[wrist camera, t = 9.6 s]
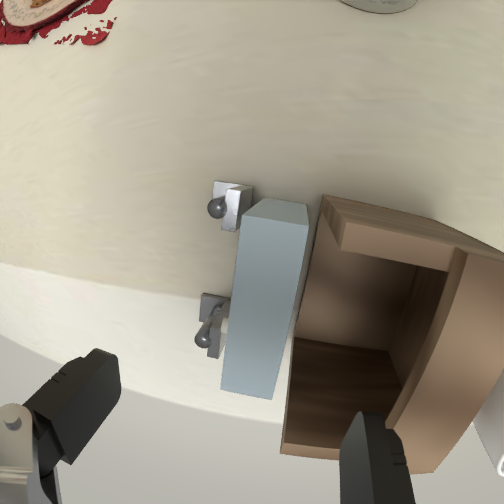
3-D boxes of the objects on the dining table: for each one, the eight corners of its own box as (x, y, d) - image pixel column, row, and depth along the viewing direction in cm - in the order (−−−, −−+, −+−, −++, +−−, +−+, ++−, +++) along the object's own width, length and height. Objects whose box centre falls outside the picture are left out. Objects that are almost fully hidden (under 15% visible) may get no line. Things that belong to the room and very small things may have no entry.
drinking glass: (436, 367, 24) (495, 491, 9) (415, 312, 23) (495, 445, 9) (493, 330, 22) (577, 430, 8) (479, 272, 21) (592, 364, 7)
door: (251, 195, 23) (220, 211, 14) (305, 204, 22) (309, 226, 14) (234, 318, 25) (203, 385, 17) (282, 327, 25) (271, 400, 16)
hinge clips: (216, 180, 23) (193, 184, 18) (253, 186, 22) (240, 191, 18) (200, 318, 26) (180, 349, 21) (233, 325, 26) (218, 359, 21)
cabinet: (323, 194, 22) (350, 227, 9) (434, 220, 21) (542, 273, 8) (291, 340, 25) (277, 467, 13) (391, 355, 24) (432, 472, 12)
